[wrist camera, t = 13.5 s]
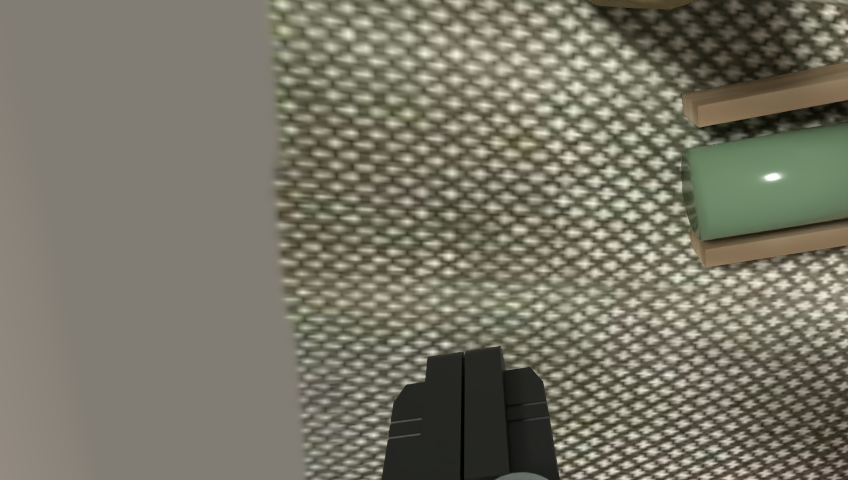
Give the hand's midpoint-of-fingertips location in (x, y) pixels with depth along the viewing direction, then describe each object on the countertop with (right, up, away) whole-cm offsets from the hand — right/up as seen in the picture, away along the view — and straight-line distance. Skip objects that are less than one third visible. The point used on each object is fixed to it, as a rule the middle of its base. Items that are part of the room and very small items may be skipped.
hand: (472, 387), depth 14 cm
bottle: (+15, +6, +26) cm, 30 cm away
